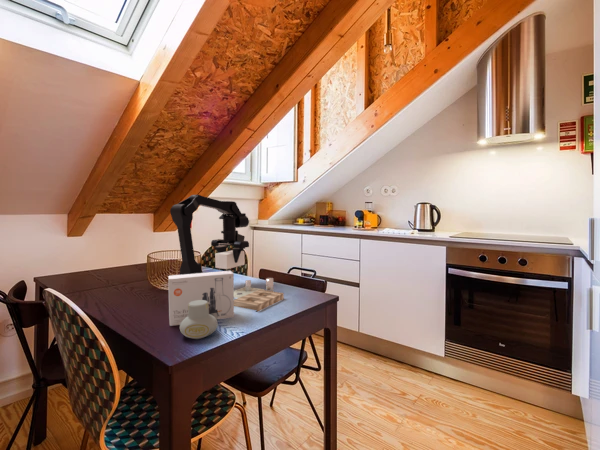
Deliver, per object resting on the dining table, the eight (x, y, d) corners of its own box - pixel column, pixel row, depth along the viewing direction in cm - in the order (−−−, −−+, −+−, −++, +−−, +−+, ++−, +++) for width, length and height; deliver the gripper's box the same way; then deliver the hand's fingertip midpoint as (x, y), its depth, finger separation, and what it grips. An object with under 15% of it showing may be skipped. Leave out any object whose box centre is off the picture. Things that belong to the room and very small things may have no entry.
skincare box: (169, 327, 104) (167, 278, 103) (169, 321, 109) (167, 275, 108) (235, 317, 112) (233, 272, 111) (231, 312, 117) (230, 269, 116)
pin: (270, 295, 138) (270, 279, 138) (264, 295, 140) (264, 279, 139) (274, 294, 141) (274, 278, 141) (268, 293, 143) (268, 277, 142)
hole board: (257, 311, 118) (257, 305, 118) (232, 307, 124) (231, 300, 123) (283, 299, 133) (283, 293, 133) (260, 295, 139) (260, 289, 139)
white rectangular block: (226, 269, 143) (226, 254, 143) (215, 267, 147) (215, 253, 146) (244, 264, 154) (244, 251, 153) (233, 263, 157) (233, 250, 157)
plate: (242, 300, 133) (241, 287, 132) (222, 296, 138) (221, 284, 138) (264, 290, 147) (264, 279, 146) (245, 287, 152) (245, 277, 152)
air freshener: (177, 342, 93) (176, 308, 92) (183, 331, 101) (182, 299, 100) (216, 339, 94) (215, 305, 94) (219, 328, 102) (218, 297, 102)
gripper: (256, 228, 151) (256, 260, 152) (226, 226, 161) (227, 257, 162) (240, 229, 142) (241, 264, 143) (209, 228, 151) (210, 261, 152)
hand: (230, 262), depth 150 cm, fingers closed on white rectangular block, 7 cm apart
